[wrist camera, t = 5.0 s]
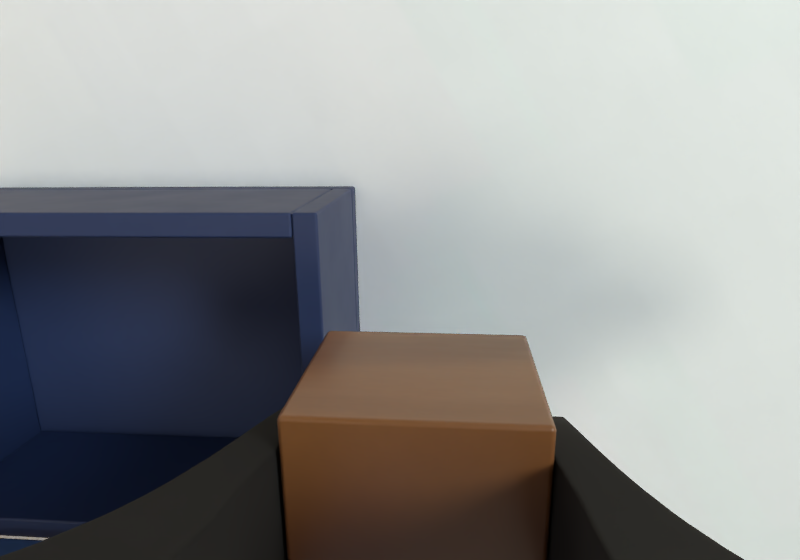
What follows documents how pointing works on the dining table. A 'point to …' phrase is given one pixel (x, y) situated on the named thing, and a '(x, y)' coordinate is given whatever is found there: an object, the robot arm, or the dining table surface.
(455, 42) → the dining table surface
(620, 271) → the dining table surface
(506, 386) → the block
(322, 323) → the case
